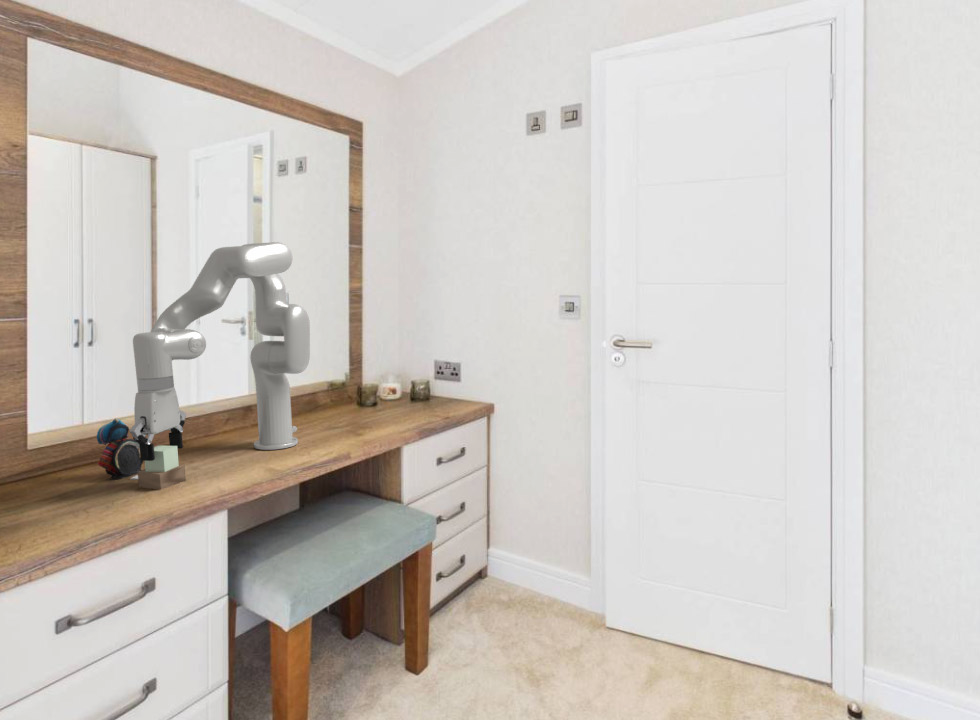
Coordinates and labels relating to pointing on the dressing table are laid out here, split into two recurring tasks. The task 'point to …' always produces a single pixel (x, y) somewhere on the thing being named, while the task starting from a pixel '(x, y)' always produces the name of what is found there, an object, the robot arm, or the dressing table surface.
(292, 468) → the dressing table surface
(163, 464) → the sage cube
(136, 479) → the tile
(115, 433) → the figurine
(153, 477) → the walnut base
